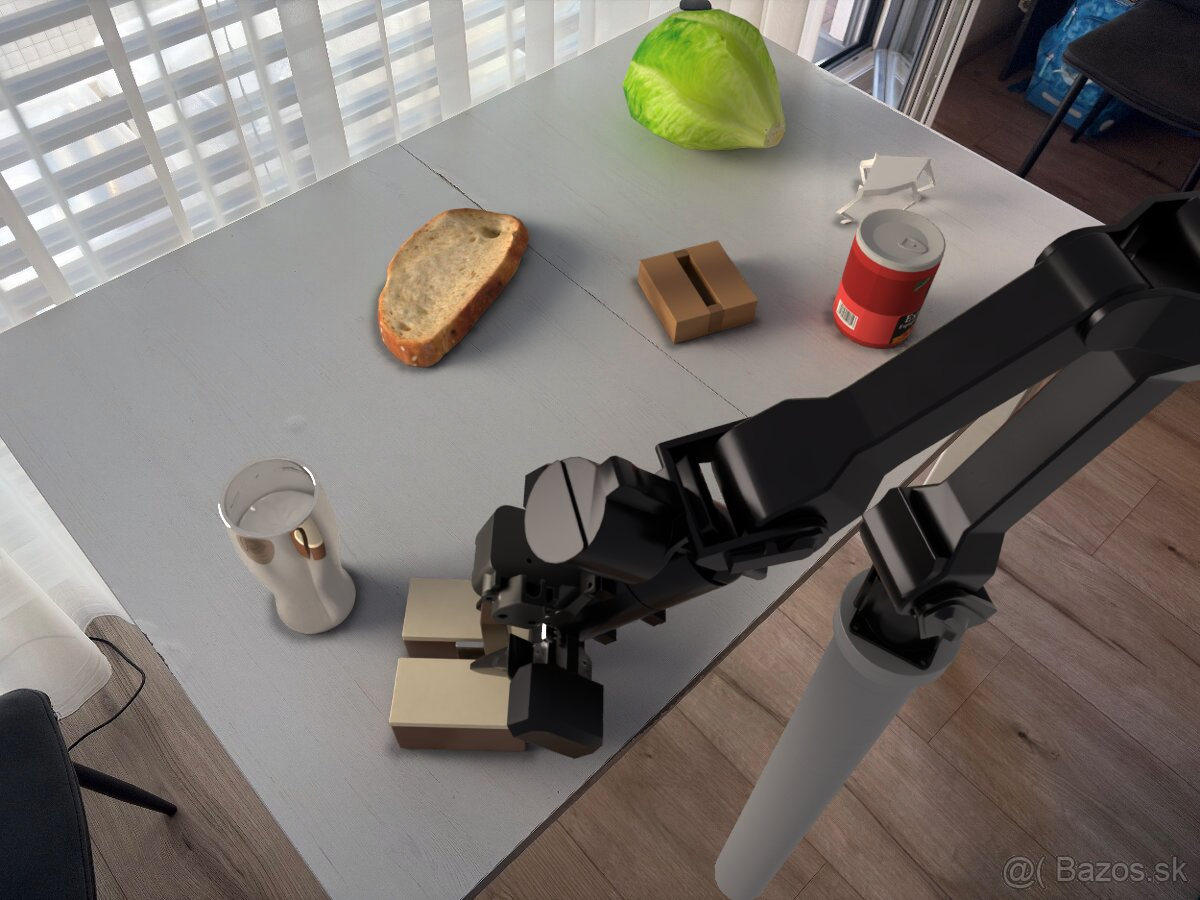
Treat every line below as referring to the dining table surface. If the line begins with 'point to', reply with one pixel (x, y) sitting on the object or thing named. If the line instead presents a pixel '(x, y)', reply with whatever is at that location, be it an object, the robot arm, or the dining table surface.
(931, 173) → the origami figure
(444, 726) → the beige twin blocks
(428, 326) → the slice of bread
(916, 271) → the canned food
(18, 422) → the dining table surface
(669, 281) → the cardboard box
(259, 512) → the beer glass
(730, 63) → the lettuce
